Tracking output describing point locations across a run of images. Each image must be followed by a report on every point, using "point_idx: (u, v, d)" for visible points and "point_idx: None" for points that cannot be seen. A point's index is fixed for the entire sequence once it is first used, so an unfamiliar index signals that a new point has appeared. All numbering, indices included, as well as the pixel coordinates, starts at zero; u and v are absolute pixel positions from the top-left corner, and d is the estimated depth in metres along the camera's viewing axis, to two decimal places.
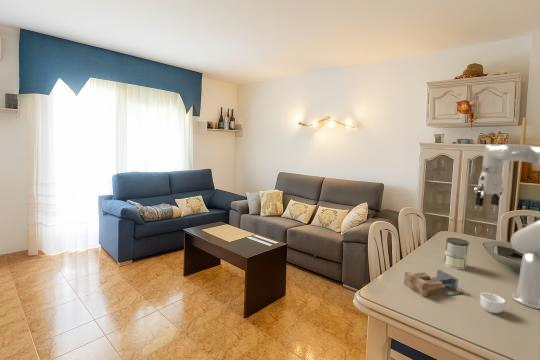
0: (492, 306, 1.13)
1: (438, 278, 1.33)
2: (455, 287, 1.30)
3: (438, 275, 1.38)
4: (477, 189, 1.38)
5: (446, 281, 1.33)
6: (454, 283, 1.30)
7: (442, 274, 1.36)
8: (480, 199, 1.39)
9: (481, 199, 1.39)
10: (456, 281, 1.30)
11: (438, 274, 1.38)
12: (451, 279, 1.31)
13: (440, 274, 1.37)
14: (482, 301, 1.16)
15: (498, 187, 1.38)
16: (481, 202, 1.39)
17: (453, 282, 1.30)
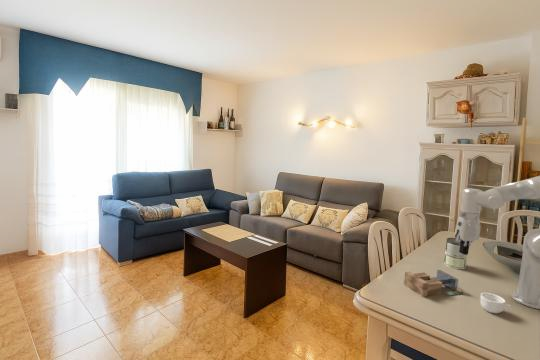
0: (492, 306, 1.13)
1: (438, 278, 1.33)
2: (455, 287, 1.30)
3: (438, 275, 1.38)
4: (458, 240, 1.33)
5: (446, 281, 1.33)
6: (454, 283, 1.30)
7: (442, 274, 1.36)
8: (464, 248, 1.34)
9: (465, 248, 1.34)
10: (456, 281, 1.30)
11: (438, 274, 1.38)
12: (451, 279, 1.31)
13: (440, 274, 1.37)
14: (482, 301, 1.16)
15: (476, 234, 1.32)
16: (465, 251, 1.34)
17: (453, 282, 1.30)
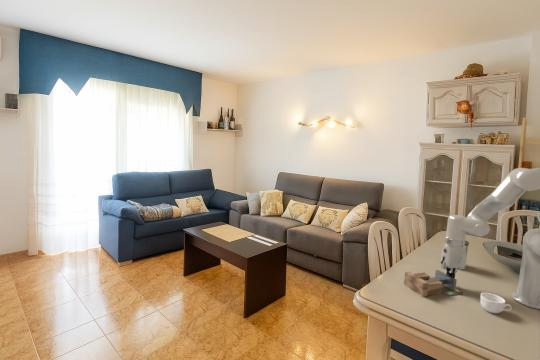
0: (492, 306, 1.13)
1: (436, 278, 1.33)
2: (453, 287, 1.30)
3: (437, 275, 1.38)
4: (444, 267, 1.33)
5: (444, 281, 1.33)
6: (452, 283, 1.30)
7: (440, 274, 1.36)
8: (450, 274, 1.34)
9: (451, 274, 1.34)
10: (454, 281, 1.29)
11: (436, 274, 1.38)
12: (449, 279, 1.31)
13: (438, 274, 1.37)
14: (482, 301, 1.16)
15: (461, 260, 1.32)
16: None
17: (451, 282, 1.30)
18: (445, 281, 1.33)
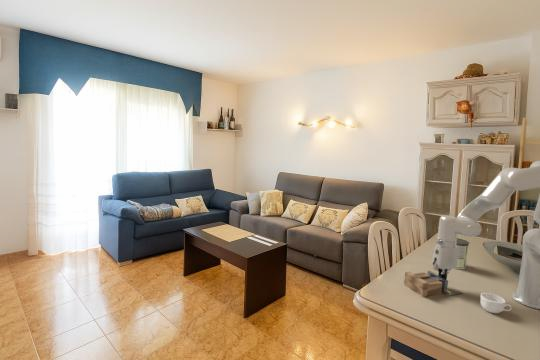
0: (492, 306, 1.13)
1: (428, 279, 1.32)
2: (445, 288, 1.28)
3: None
4: (436, 268, 1.31)
5: None
6: (444, 284, 1.28)
7: (432, 275, 1.35)
8: (442, 275, 1.33)
9: (443, 276, 1.32)
10: (446, 282, 1.28)
11: None
12: (441, 280, 1.30)
13: (430, 275, 1.36)
14: (482, 301, 1.16)
15: (453, 261, 1.31)
16: None
17: (443, 283, 1.29)
18: None
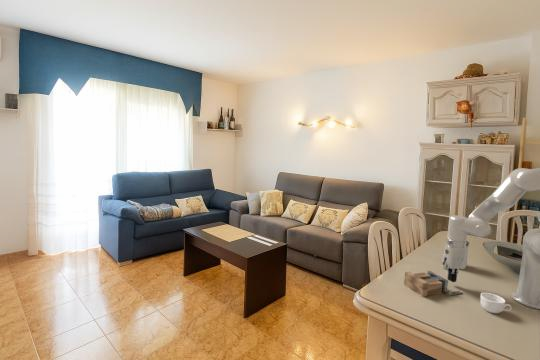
0: (492, 306, 1.13)
1: (428, 279, 1.32)
2: (445, 288, 1.28)
3: None
4: (446, 268, 1.33)
5: None
6: (444, 284, 1.28)
7: (432, 275, 1.35)
8: (452, 275, 1.34)
9: (453, 275, 1.34)
10: (446, 282, 1.28)
11: None
12: (441, 280, 1.30)
13: (430, 275, 1.36)
14: (482, 301, 1.16)
15: (463, 261, 1.32)
16: (453, 278, 1.34)
17: (443, 283, 1.29)
18: None
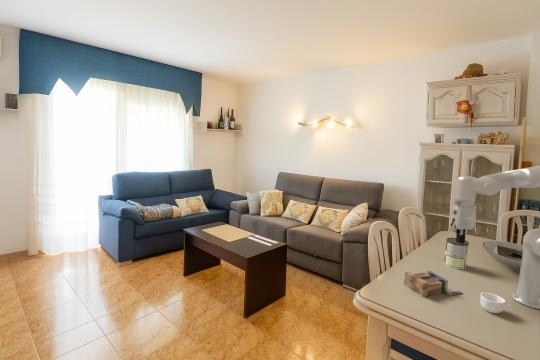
0: (492, 306, 1.13)
1: (428, 279, 1.32)
2: (445, 288, 1.28)
3: None
4: (454, 229, 1.31)
5: None
6: (444, 284, 1.28)
7: (432, 275, 1.35)
8: (460, 237, 1.32)
9: (461, 237, 1.32)
10: (446, 282, 1.28)
11: None
12: (441, 280, 1.30)
13: (430, 275, 1.36)
14: (482, 301, 1.16)
15: (471, 222, 1.30)
16: (461, 240, 1.32)
17: (443, 283, 1.29)
18: None
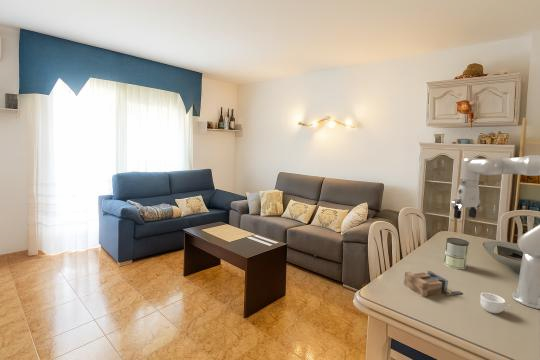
0: (492, 306, 1.13)
1: (428, 279, 1.32)
2: (445, 288, 1.28)
3: None
4: (455, 202, 1.39)
5: None
6: (444, 284, 1.28)
7: (432, 275, 1.35)
8: (458, 212, 1.40)
9: (459, 212, 1.40)
10: (446, 282, 1.28)
11: None
12: (441, 280, 1.30)
13: (430, 275, 1.36)
14: (482, 301, 1.16)
15: (475, 200, 1.40)
16: (459, 215, 1.40)
17: (443, 283, 1.29)
18: None
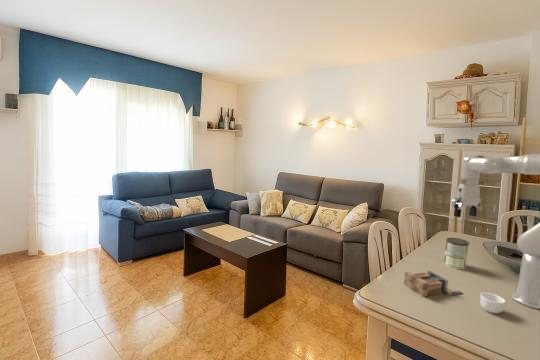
0: (492, 306, 1.13)
1: (428, 279, 1.32)
2: (445, 288, 1.28)
3: None
4: (455, 201, 1.40)
5: None
6: (444, 284, 1.28)
7: (432, 275, 1.35)
8: (458, 210, 1.41)
9: (459, 210, 1.41)
10: (446, 282, 1.28)
11: None
12: (441, 280, 1.30)
13: (430, 275, 1.36)
14: (482, 301, 1.16)
15: (475, 199, 1.41)
16: (459, 213, 1.41)
17: (443, 283, 1.29)
18: None
